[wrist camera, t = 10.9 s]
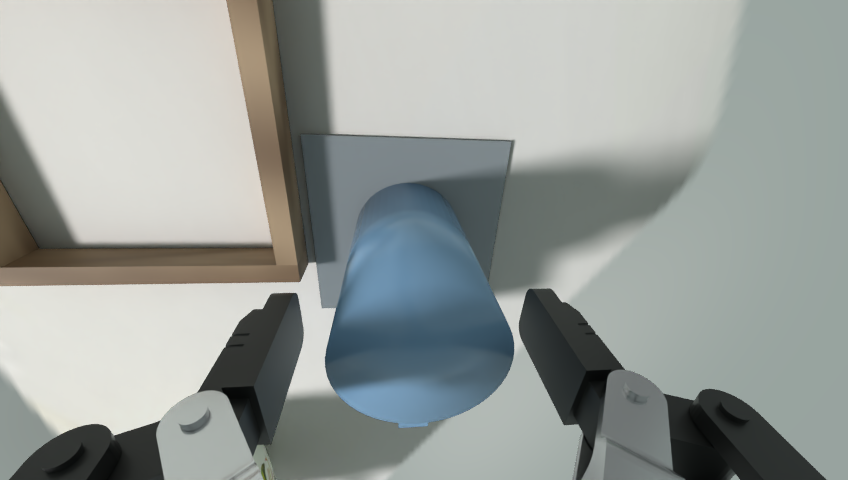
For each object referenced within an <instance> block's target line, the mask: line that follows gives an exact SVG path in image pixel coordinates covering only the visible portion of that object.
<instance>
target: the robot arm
mask: <svg viewBox="0 0 848 480" xmlns="http://www.w3.org/2000/svg"><path fill="white" fill-rule="evenodd" d="M519 332H520V337H521V339H522V341H523V343H524V345H525V347H526V350H527V352H528V353H529V355H530V358H531V359H532V362H533V364H534V366H535V368H536V370H537V372H538V373H539V376H540V378H541V380H542V382H543V384H544V386H545V388H546V389H547V392H548V394H549V396H550V398H551V400H552V402H553V404H554V406H555V408H556V410H557V412H558V414H559V416H560V418H561V420H562V422H563V424H564V425H574V424H579V426H580V428H581V430H582V434H581V436H580V439H579V445H578V451H577V456H576V462H575V468H574V473H573V480H730V479H731V478H732V477H733V476H734V475H735V474H736V475H737V476H738V477H739V479H740V480H826V479H825V478H824V477H823V476H822V475H821V474H820V473H819V472H818V471H817V470H816V469H815V468H814V467H813V466H812V465H811V464H810V463H809V462H808V461H807V460H806V459H805V458H803V456H801V454H799V453H798V452H797V451H796V450H795V449H794V448H793V447H792V446H791V445H790V444H789V443H788V442H787V441H786V440H785V439H784V438H783V437H782V436H781V435H780V434H779V433H778V432H777V431H776V430H775V429H774V428H773V427H772V426H771V425H770V424H769V423H768V422H767V421H766V420H765V419H764V418H763V417H762V416H761V415H760V414H759V413H758V412H756V411H755V410H754V409H753V408H752V407H750V406H749V405H748V404H746V403H745V402H743V401H742V400H740V399H738V398H737V397H735V396H732V395H731V394H728V393H726V392H723V391H720V390H715V389H705V390H702V391H701V392H700V393H699V395H698V396H697V397H696V399H695V400H694V401H693V400H689V399H684V398H680V397H675V396H671V395H666V394H663V393H662V392H661V390H660V389H659V388H658V387H657V386H656V385H655V384H654V383H652V382H651V381H650V380H648V379H647V378H645V377H643V376H642V375H640V374H637V373H635V372H632V371H627V370H625V369H624V368H623V367H622V365H621V364H620V363H619V362H618V361H617V359H616V358H615V357H614V356H613V354H612V353H611V352H610V350H609V349H608V348H607V346H606V345H605V344H604V343H603V342H602V340H601V339H600V338H599V336H598V335H596V334H595V331H594V330H593V329H592V328H591V326H590V325H588V323H587V321H586V320H585V319H584V318H583V316H582V315H581V314H580V312H578V311H577V310H576V309H574V308H573V307H572V306H570V305H569V304H567V303H566V302H563V303H562V302H561V301H560V299H559V298H558V297H557V295H556V294H555V293H554V291H553V290H552V289H529V290H528V291H527V293H526V296H525V300H524V304H523V308H522V312H521V317H520V321H519ZM303 334H304V332H303V323H302V317H301V311H300V305H299V299H298V295H297V294H296V293H273V294H271V295H270V297H269V298H268V300H267V302H266V304H265V306H264V308H263V309H254V310H252V311H251V312H250V313H249V314H248V315H247V316H245V317H244V318H243V319H242V320H241V321H240V322H239V324H238V325H237V327H236V329H235V330H234V332H233V334H232V337H230V339H229V340H228V342H227V344H226V348H224V349H223V350H222V352H221V354H220V356H219V357H218V359H217V361H216V362H215V364H214V366H213V367H212V369H211V371H210V372H209V374H208V376H207V377H206V379H205V381H204V382H203V384H202V386H201V387H200V389H199V391H198V392H197V393H196V394H193V395H191V396H188V397H187V398H185V399H183V400H181V401H180V402H178V403H177V404H176V405H174V406H173V407H172V408H171V409H170V410H169V411H168V412H167V413H166V414H165V415H164V417H163V418H162V420H161V421H158V422H155V423H153V424H149V425H146V426H143V427H140V428H137V429H134V430H131V431H127V432H124V433H121V434H118V435H115V436H113V434H112V433H111V431H110V430H109V429H108V428H107V427H106V426H104V425H99V424H90V425H84V426H81V427H77V428H75V429H72V430H69V431H67V432H65V433H63V434H61V435H59V436H57V437H56V438H54V439H52V440H51V441H49V442H48V443H46V444H45V445H43V446H42V447H41V448H39V449H38V450H37V451H36V452H35V453H33V454H32V455H31V456H30V457H29V458H28V459H27V460H26V461H25V462H24V463H23V465H22V466H21V467H20V468H19V469H18V470H17V471H16V473H15V474H14V475H13V476H12V477H11V478H10V479H9V480H264V479H263V477H262V475H261V472H260V470H259V468H258V466H257V464H256V463H255V461H254V459H253V456H254V453H255V450H256V447H257V445H267V444H271V443H272V440H273V436H274V433H275V430H276V427H277V424H278V421H279V417H280V414H281V411H282V408H283V405H284V402H285V398H286V395H287V392H288V389H289V386H290V383H291V379H292V376H293V373H294V370H295V367H296V364H297V360H298V357H299V354H300V351H301V348H302V344H303Z"/></svg>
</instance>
